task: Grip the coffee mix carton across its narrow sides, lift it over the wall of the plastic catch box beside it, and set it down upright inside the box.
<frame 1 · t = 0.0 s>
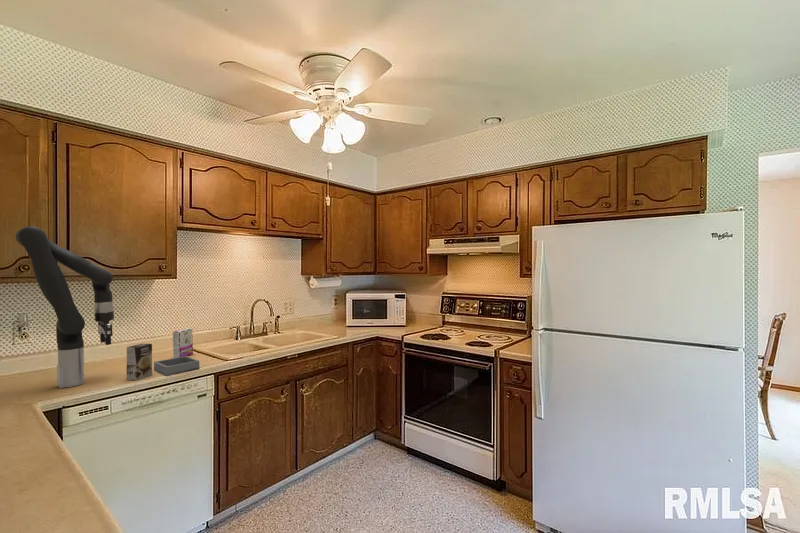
hand: (105, 343, 186), 17 cm above the counter, tool pointing down, fingers open, 8 cm apart
coffee box: (139, 377, 187), on the counter
catch box: (176, 369, 201), on the counter
candy bar box: (183, 356, 229), on the counter
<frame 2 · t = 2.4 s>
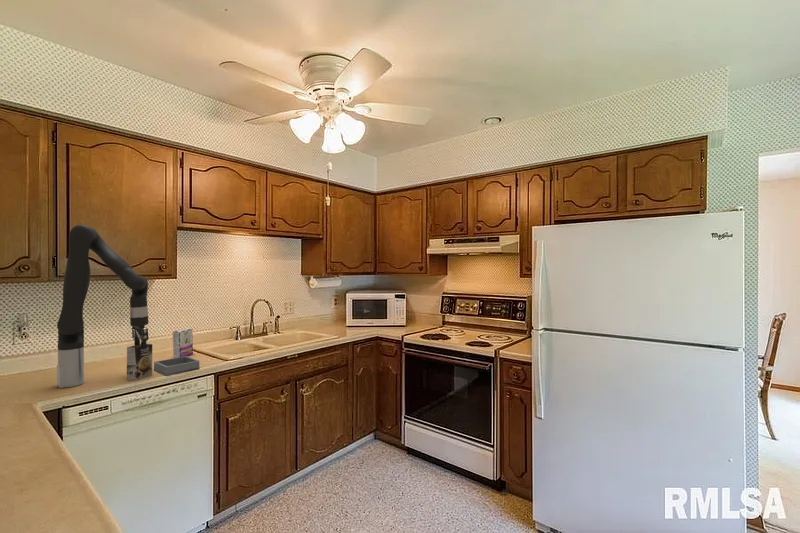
hand: (140, 347, 188), 15 cm above the counter, tool pointing down
coffee box: (139, 377, 187), on the counter, touching gripper
everything else where it was.
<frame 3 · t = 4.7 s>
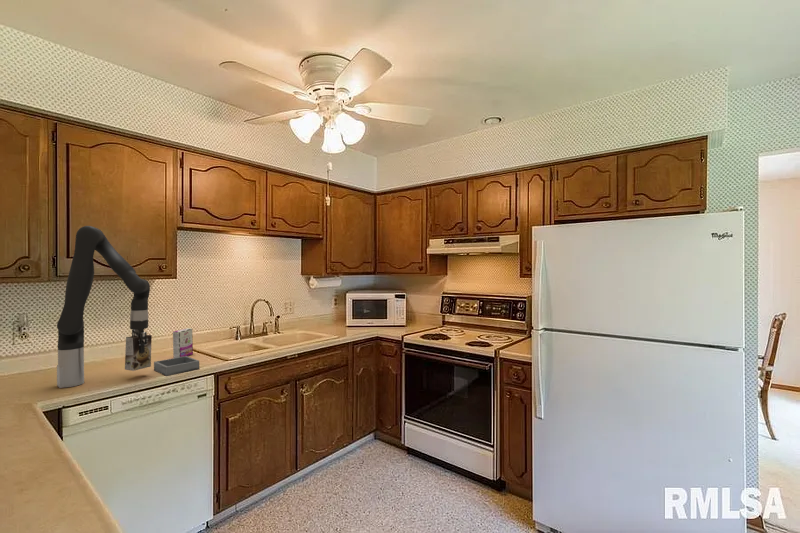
hand: (138, 351, 187), 13 cm above the counter, tool pointing down, fingers closed on coffee box, 8 cm apart
coffee box: (138, 368, 187), point 4 cm above the counter, touching gripper
everything else where it was.
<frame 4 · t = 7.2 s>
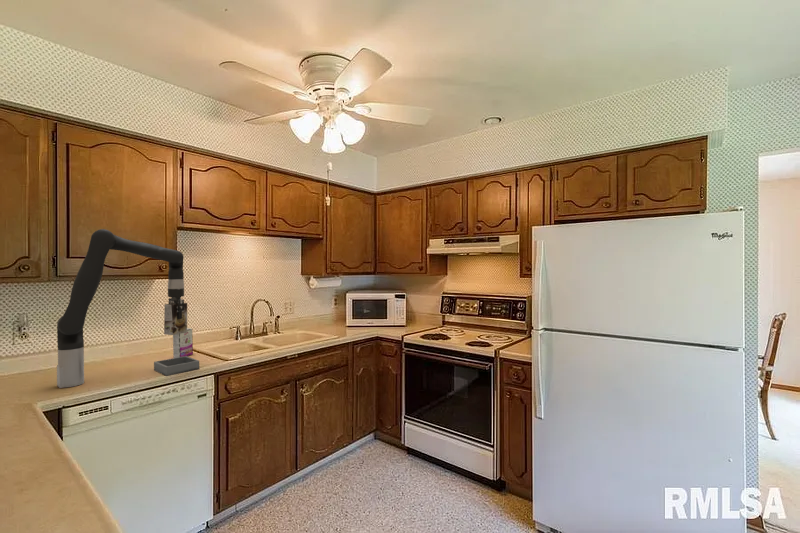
hand: (176, 318, 200), 28 cm above the counter, tool pointing down, fingers closed on coffee box, 8 cm apart
coffee box: (176, 333, 200), point 19 cm above the counter, touching gripper
everything else where it was.
when the fingers open (10 cm above the counter, at t = 11.4 s): coffee box drops 1 cm, resting on catch box.
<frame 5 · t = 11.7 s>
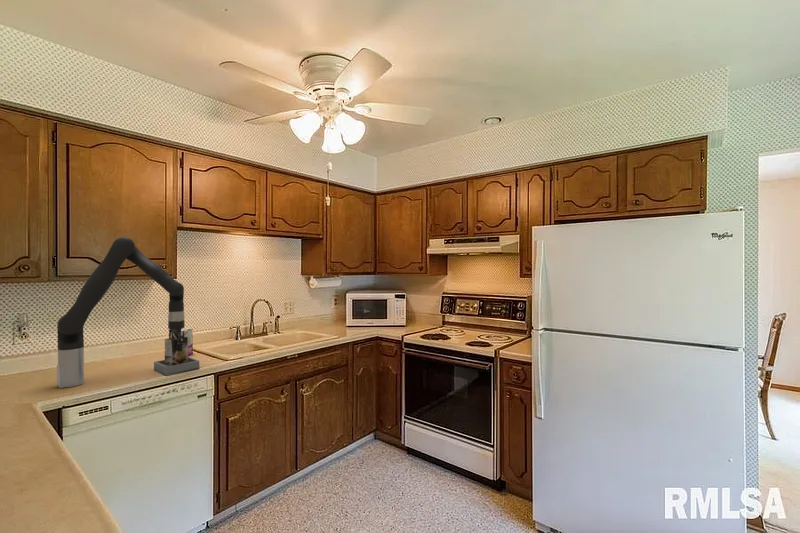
hand: (176, 349, 200), 11 cm above the counter, tool pointing down, fingers open, 8 cm apart
coffee box: (176, 368, 200), point 1 cm above the counter, touching catch box
everything else where it was.
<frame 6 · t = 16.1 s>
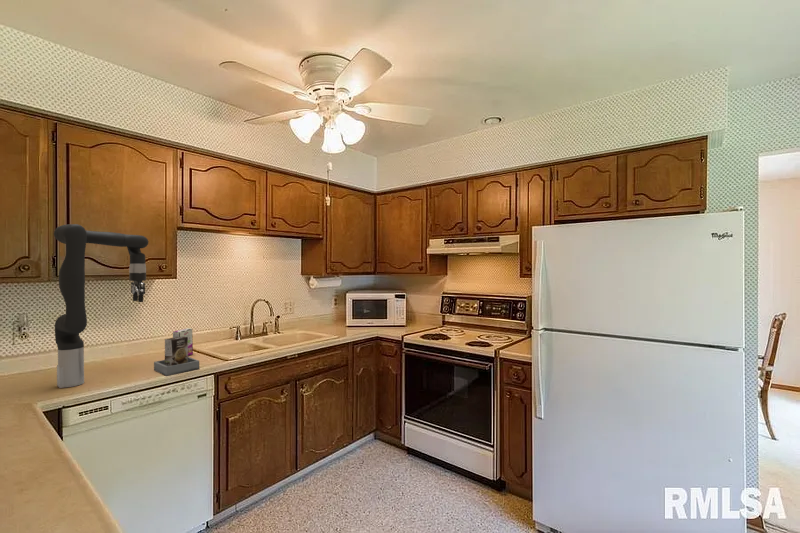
hand: (138, 301, 205), 36 cm above the counter, tool pointing down, fingers open, 8 cm apart
nothing on the counter moved.
at the end: coffee box inside the target area on the catch box (0.3 cm from its centre), point 0.8 cm above the catch box's base; coffee box tilted 0°; the gripper is holding nothing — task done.
